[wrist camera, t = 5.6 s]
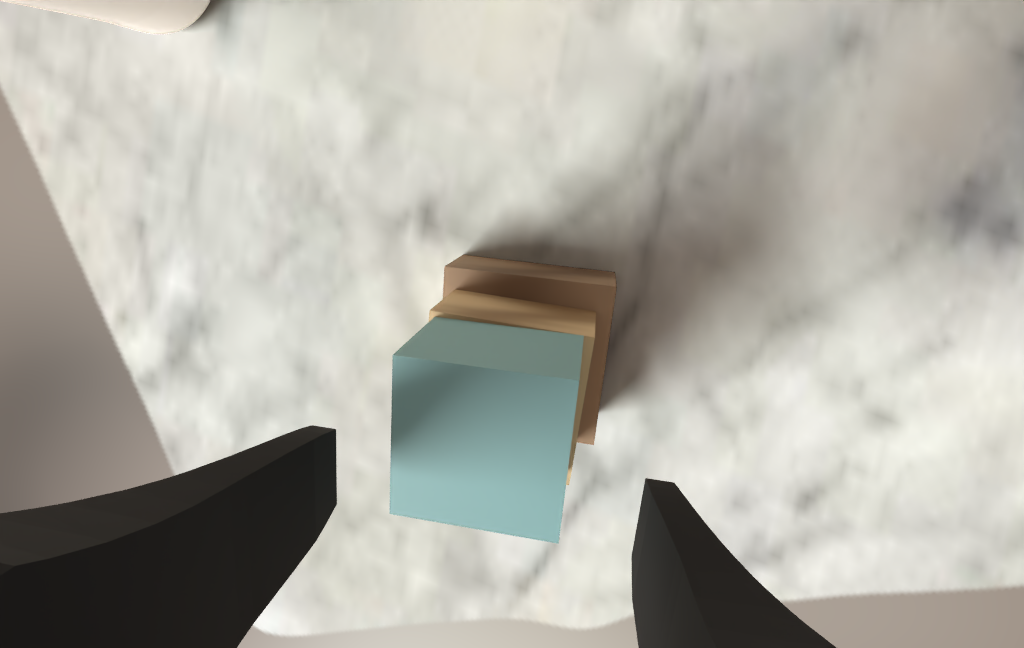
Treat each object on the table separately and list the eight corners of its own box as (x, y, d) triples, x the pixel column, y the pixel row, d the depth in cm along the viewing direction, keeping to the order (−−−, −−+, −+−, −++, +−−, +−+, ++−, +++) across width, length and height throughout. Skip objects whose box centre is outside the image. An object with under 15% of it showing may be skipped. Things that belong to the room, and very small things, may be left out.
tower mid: (596, 311, 19) (595, 337, 16) (573, 440, 20) (569, 485, 17) (454, 289, 19) (429, 310, 16) (443, 416, 21) (418, 455, 18)
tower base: (614, 270, 21) (616, 286, 18) (594, 410, 23) (593, 444, 20) (464, 253, 22) (444, 266, 19) (456, 390, 24) (436, 420, 21)
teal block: (583, 335, 16) (579, 380, 13) (566, 470, 17) (558, 543, 14) (434, 316, 16) (392, 355, 13) (429, 448, 18) (389, 513, 14)
